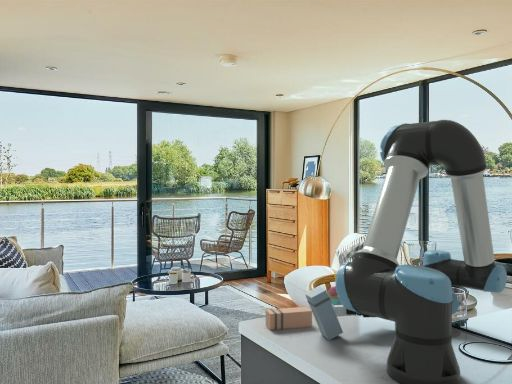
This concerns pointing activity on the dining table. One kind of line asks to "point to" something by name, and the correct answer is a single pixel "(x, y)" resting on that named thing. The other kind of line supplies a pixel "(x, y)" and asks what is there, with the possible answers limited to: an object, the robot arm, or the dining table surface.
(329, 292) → the cupcake
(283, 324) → the post
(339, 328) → the post
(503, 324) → the dining table surface
